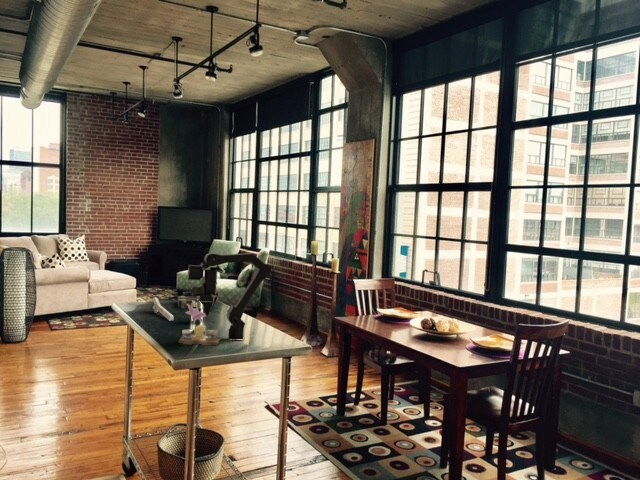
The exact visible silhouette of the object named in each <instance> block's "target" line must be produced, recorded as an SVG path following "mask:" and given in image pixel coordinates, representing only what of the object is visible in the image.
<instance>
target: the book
mask: <svg viewBox="0 0 640 480" xmlns="http://www.w3.org/2000/svg"><path fill="white" fill-rule="evenodd" d="M200 296H201V295H197V296H196V295H194V296H193V295H192V296H190V295H189V296H187V295H178V296H177V307H178V308H179V309H189V308H188V306H187V304H188V305H190V306H191V303H192V300H193V299H197V298H199V297H200Z"/></svg>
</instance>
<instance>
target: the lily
mask: <svg viewBox="0 0 640 480" xmlns="http://www.w3.org/2000/svg"><path fill="white" fill-rule="evenodd" d="M187 306H188V308H187V309H189V310H188V311H185V314H187V315H190V316H191V319H190V322H189V325H191V324H192V321H193V322H194V321H197V320H198V321H200V322H201V323H204V321H203V318H204V317H207V316H206V315H205V312H202V311H200V310H199V309H200V308H197V307H196V308H193V307H192V306H190V305H188V304H187Z"/></svg>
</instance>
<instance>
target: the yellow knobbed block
mask: <svg viewBox="0 0 640 480" xmlns="http://www.w3.org/2000/svg"><path fill="white" fill-rule="evenodd" d="M206 327H207V326H206V325H199V324H198V325H196V326H195V329H194V331H195V333H194V335H195V339H204V337H205V336H206Z"/></svg>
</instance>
